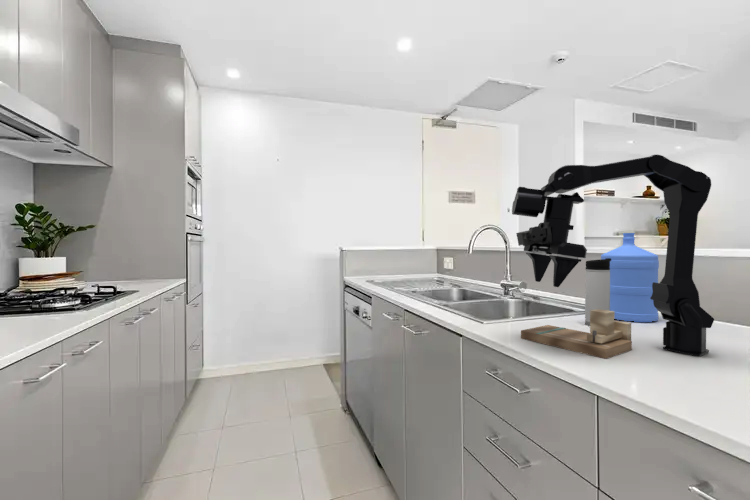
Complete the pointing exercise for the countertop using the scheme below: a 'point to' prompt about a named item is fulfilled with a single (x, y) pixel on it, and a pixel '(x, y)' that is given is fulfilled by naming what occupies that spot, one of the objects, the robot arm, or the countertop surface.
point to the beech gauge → (607, 327)
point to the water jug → (632, 281)
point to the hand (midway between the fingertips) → (546, 284)
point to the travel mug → (597, 286)
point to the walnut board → (575, 341)
